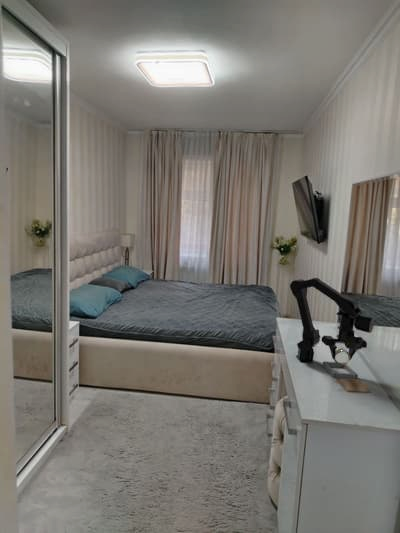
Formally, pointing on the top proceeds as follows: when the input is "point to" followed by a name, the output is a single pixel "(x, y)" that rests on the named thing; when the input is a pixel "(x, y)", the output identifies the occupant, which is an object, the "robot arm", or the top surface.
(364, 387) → the pad
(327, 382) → the top surface
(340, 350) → the ring
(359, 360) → the top surface
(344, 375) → the bin
